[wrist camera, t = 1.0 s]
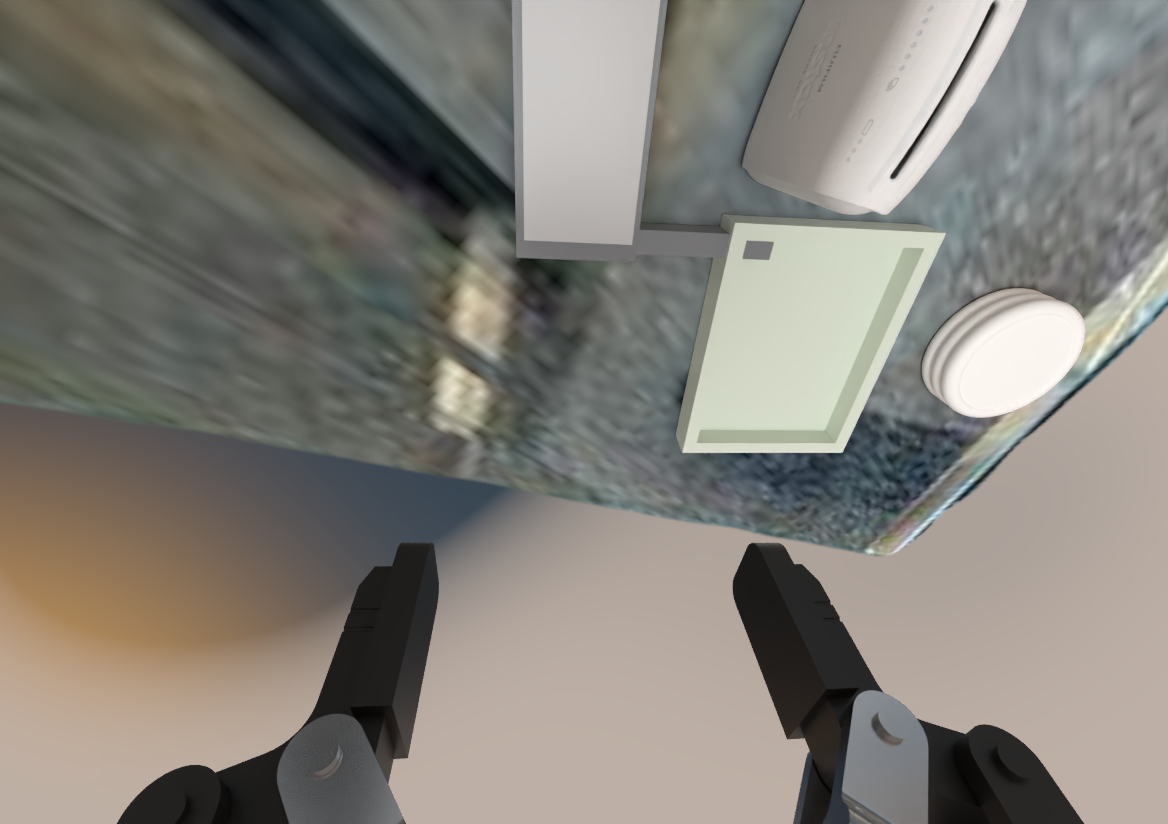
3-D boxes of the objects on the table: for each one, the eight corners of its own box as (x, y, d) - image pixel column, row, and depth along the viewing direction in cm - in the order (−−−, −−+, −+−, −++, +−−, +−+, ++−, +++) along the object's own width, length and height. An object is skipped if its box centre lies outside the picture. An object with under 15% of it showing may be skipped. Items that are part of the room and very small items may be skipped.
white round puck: (1068, 331, 38) (1111, 351, 35) (954, 415, 42) (985, 439, 39) (1014, 259, 34) (1058, 274, 31) (894, 359, 38) (923, 381, 35)
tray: (722, 214, 31) (735, 222, 29) (921, 224, 32) (946, 233, 30) (675, 435, 41) (682, 452, 39) (828, 435, 42) (842, 452, 40)
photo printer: (815, -45, 24) (1019, -147, 14) (884, -14, 25) (1125, -87, 15) (728, 172, 29) (828, 216, 19) (787, 192, 30) (914, 243, 20)
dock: (516, -201, 20) (504, -358, 13) (863, -154, 22) (1019, -272, 15) (521, 241, 31) (516, 286, 23) (757, 251, 32) (818, 296, 25)
